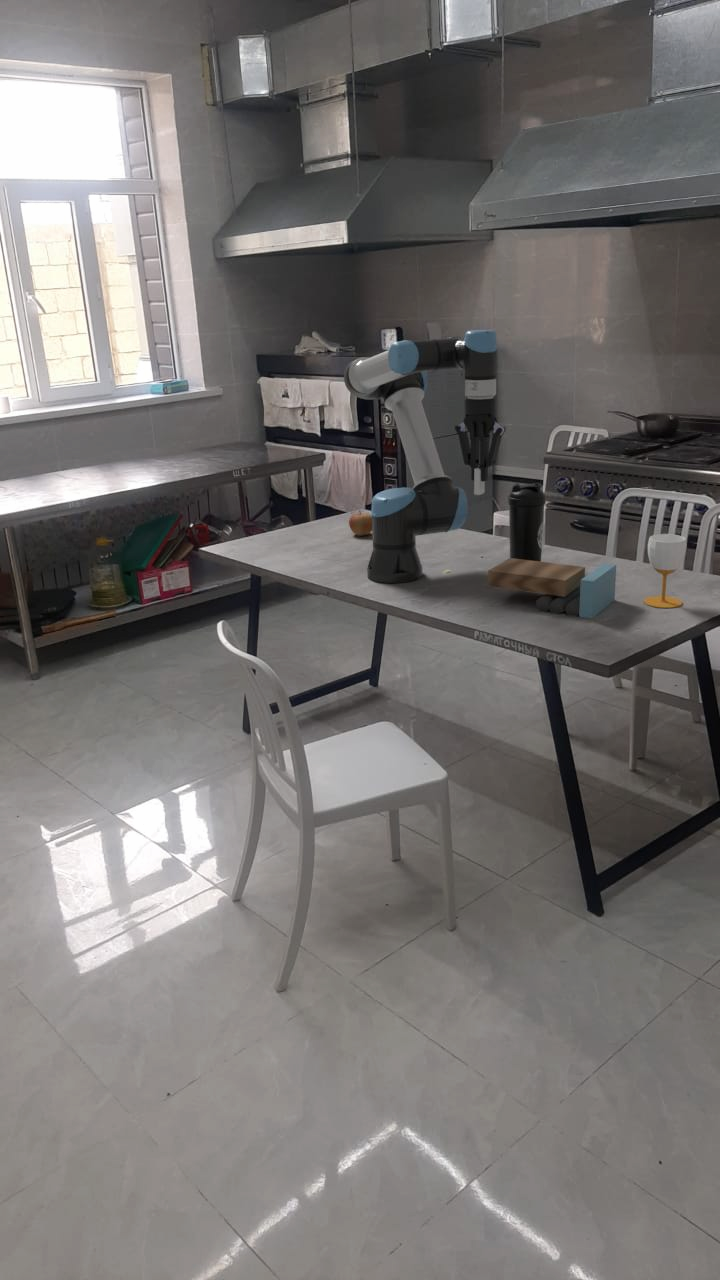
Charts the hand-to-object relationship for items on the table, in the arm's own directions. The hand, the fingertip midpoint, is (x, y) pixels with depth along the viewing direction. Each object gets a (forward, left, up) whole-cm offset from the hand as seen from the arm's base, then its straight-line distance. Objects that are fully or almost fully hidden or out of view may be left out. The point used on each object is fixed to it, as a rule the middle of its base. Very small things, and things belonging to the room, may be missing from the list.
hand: (479, 493), depth 241 cm
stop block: (+32, -1, -25) cm, 41 cm away
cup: (+45, +10, -25) cm, 52 cm away
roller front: (+28, -1, -25) cm, 38 cm away
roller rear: (+23, -1, -23) cm, 32 cm away
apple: (-60, +38, -25) cm, 76 cm away
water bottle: (+2, +26, -25) cm, 36 cm away
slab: (+16, -1, -21) cm, 27 cm away
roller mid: (+23, -1, -23) cm, 33 cm away
